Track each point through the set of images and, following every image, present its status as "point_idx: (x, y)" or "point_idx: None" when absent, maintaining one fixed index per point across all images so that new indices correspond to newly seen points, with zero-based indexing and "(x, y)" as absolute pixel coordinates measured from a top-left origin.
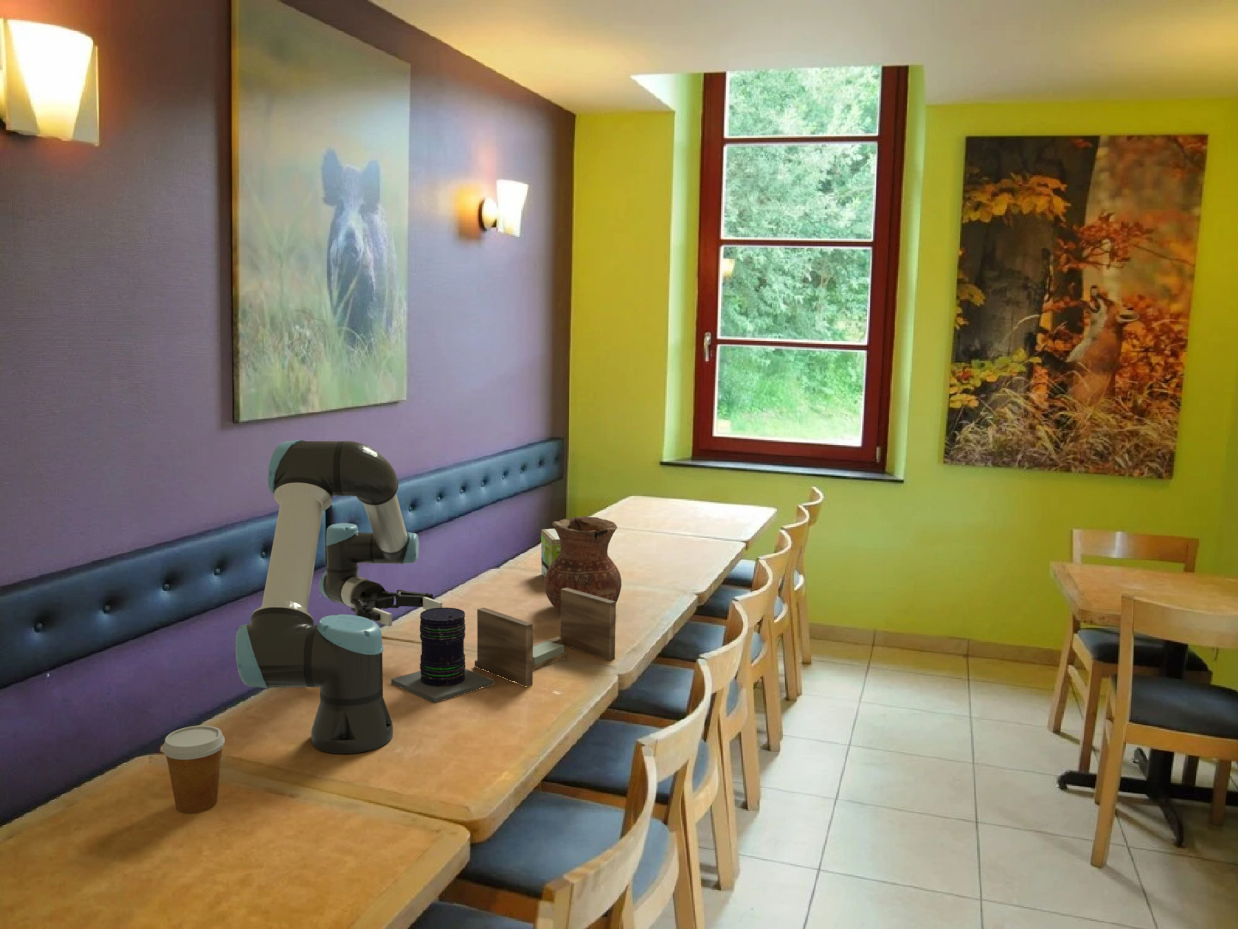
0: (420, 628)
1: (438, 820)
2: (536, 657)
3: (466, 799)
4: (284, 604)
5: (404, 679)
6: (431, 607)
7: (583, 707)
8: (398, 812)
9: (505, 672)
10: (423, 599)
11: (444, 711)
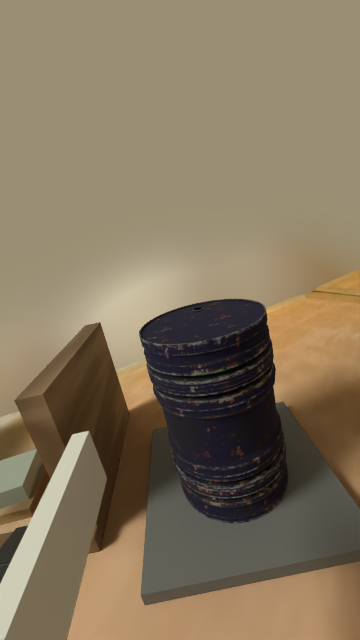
0: (271, 349)
1: (329, 291)
2: (32, 451)
3: (305, 300)
4: None
5: (334, 516)
6: (78, 534)
7: (134, 363)
8: (357, 293)
9: (117, 438)
10: (18, 635)
11: (277, 385)
